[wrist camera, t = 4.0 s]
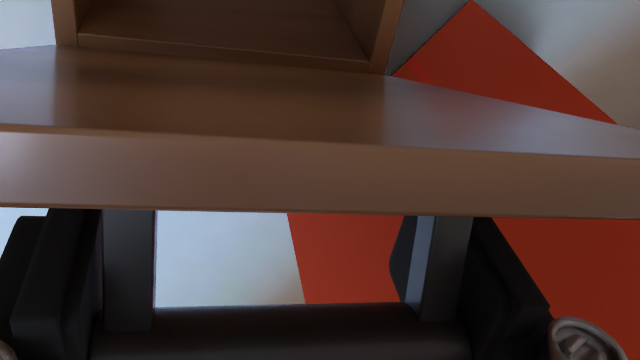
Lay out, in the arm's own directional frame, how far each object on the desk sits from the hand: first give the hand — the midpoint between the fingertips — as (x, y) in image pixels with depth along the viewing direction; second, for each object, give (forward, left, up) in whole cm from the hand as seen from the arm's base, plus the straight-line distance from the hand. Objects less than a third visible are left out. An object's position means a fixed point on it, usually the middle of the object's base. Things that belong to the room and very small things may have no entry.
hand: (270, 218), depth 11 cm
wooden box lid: (-1, 0, -4) cm, 4 cm away
